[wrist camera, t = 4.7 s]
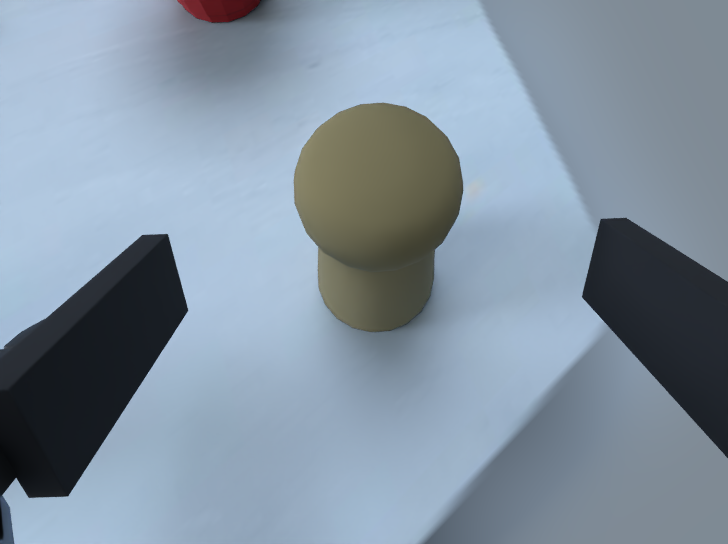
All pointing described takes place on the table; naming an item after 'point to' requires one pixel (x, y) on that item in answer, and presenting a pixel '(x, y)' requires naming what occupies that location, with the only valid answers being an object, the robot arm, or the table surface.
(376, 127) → the cork
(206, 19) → the plastic cup
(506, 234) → the table surface
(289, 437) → the table surface
